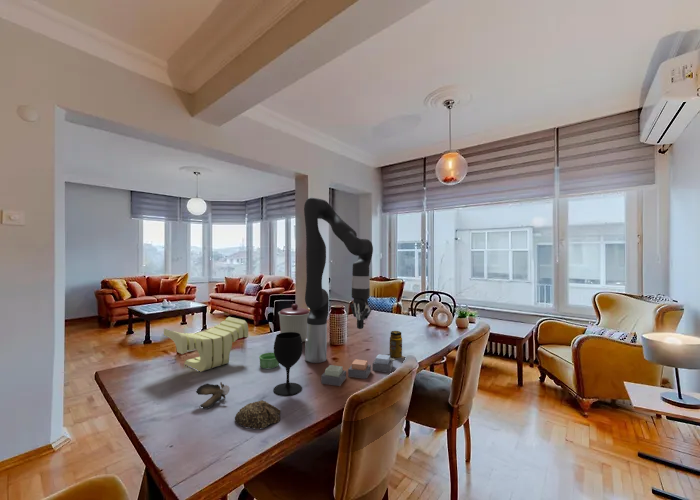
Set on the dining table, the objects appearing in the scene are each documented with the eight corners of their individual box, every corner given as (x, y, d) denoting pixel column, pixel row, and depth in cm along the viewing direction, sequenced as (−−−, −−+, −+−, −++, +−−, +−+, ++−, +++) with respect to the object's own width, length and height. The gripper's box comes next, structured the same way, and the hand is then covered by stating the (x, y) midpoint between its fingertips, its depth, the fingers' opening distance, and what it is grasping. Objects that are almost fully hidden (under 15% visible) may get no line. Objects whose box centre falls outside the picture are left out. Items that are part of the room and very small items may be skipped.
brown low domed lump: (229, 421, 93) (229, 404, 93) (261, 404, 103) (261, 389, 103) (257, 436, 86) (257, 418, 86) (289, 416, 96) (289, 400, 96)
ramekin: (272, 370, 132) (272, 360, 132) (254, 367, 135) (254, 357, 135) (283, 363, 140) (283, 353, 140) (266, 360, 143) (266, 351, 143)
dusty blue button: (375, 365, 134) (375, 358, 134) (378, 360, 139) (378, 354, 139) (388, 366, 132) (388, 359, 132) (390, 362, 137) (390, 355, 137)
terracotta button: (351, 370, 127) (351, 363, 127) (355, 366, 132) (355, 359, 132) (364, 372, 125) (364, 365, 125) (367, 367, 131) (367, 360, 131)
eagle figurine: (215, 390, 110) (191, 395, 102) (225, 375, 109) (202, 379, 101) (225, 408, 106) (200, 414, 98) (235, 392, 105) (211, 397, 97)
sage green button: (324, 377, 120) (325, 369, 120) (329, 372, 125) (329, 364, 125) (338, 379, 119) (338, 371, 119) (342, 373, 124) (342, 366, 124)
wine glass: (273, 397, 107) (274, 340, 107) (272, 385, 117) (273, 332, 117) (303, 394, 110) (304, 338, 110) (300, 382, 120) (301, 330, 120)
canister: (300, 335, 186) (300, 300, 186) (316, 342, 172) (317, 304, 172) (272, 340, 175) (272, 303, 175) (287, 348, 161) (288, 308, 161)
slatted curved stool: (181, 380, 120) (182, 334, 120) (163, 371, 130) (163, 328, 130) (247, 359, 145) (248, 321, 145) (228, 352, 154) (228, 316, 154)
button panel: (315, 378, 123) (315, 371, 123) (384, 362, 143) (384, 355, 143) (328, 389, 114) (328, 381, 114) (400, 369, 134) (400, 362, 134)
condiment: (405, 357, 150) (406, 332, 150) (392, 360, 145) (392, 335, 145) (395, 353, 156) (395, 329, 156) (382, 356, 151) (382, 331, 151)
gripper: (344, 285, 132) (344, 326, 132) (362, 289, 121) (362, 333, 121) (358, 284, 136) (358, 324, 136) (377, 287, 125) (377, 330, 125)
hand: (360, 328), depth 129 cm, fingers closed
